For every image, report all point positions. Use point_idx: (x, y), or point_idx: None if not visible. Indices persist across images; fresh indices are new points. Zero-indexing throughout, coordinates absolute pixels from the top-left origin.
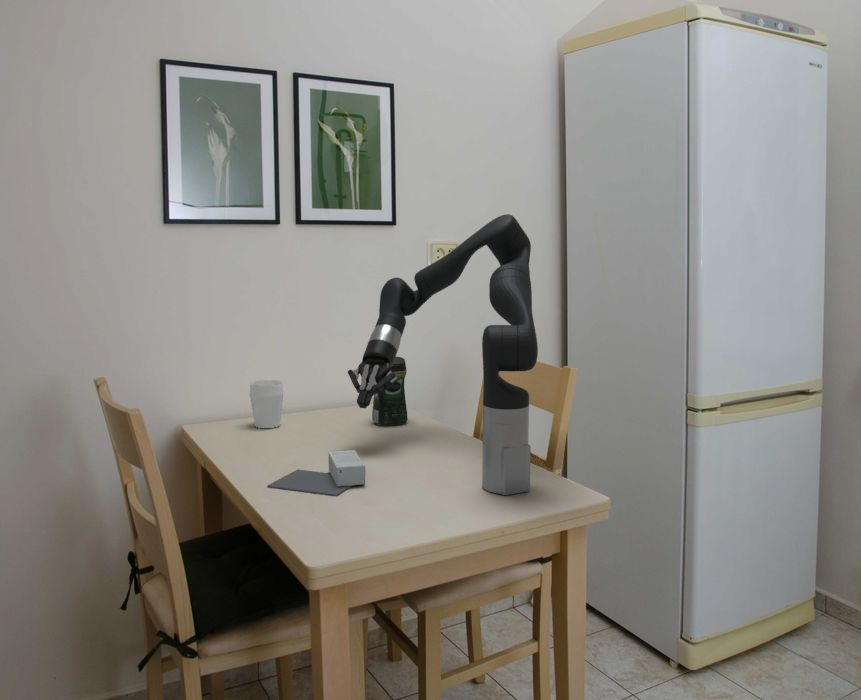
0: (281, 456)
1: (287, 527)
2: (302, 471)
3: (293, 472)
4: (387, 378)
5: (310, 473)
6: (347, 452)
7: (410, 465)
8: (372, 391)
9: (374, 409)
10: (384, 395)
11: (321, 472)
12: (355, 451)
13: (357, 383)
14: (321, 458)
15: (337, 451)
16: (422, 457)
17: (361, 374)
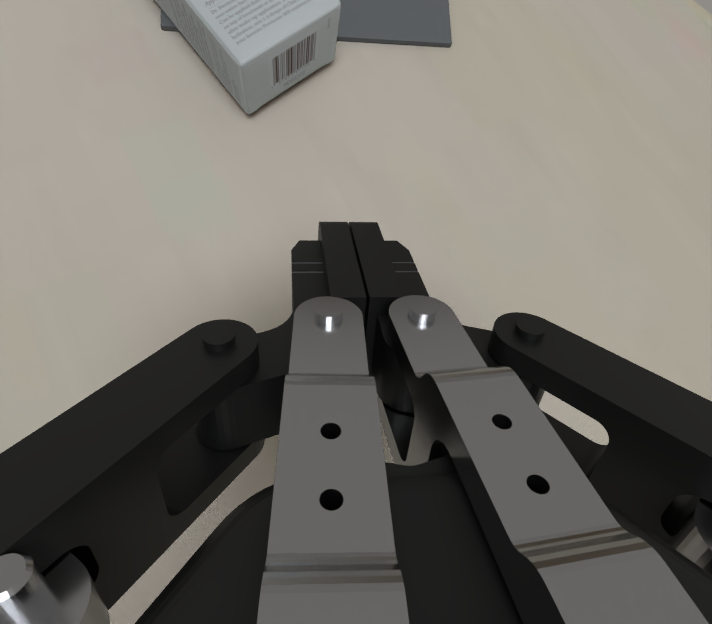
0: (616, 190)
1: None
2: (420, 26)
3: (443, 8)
4: (8, 486)
5: (379, 14)
6: (251, 14)
7: (34, 257)
8: (280, 333)
9: None
10: None
11: (347, 35)
12: (225, 46)
13: (532, 351)
14: (460, 219)
15: (306, 19)
16: (19, 404)
17: (620, 514)
